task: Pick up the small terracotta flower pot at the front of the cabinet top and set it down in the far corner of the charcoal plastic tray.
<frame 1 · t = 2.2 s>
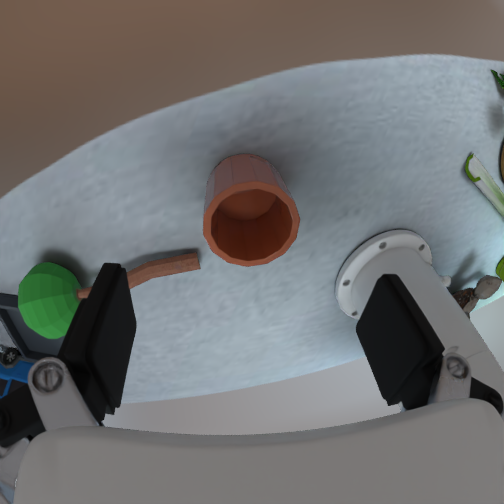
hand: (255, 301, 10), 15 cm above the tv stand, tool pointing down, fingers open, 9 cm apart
toy 2: (491, 79, 17), point 2 cm above the tv stand, touching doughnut
tree: (108, 269, 28), on the tv stand
tray: (55, 331, 32), on the tv stand
toy car: (47, 368, 37), on the tv stand
toy: (440, 372, 33), point 8 cm above the tv stand
microphone: (502, 264, 34), on the tv stand
terracotta pot: (244, 189, 24), on the tv stand
leek: (473, 164, 23), point 2 cm above the tv stand
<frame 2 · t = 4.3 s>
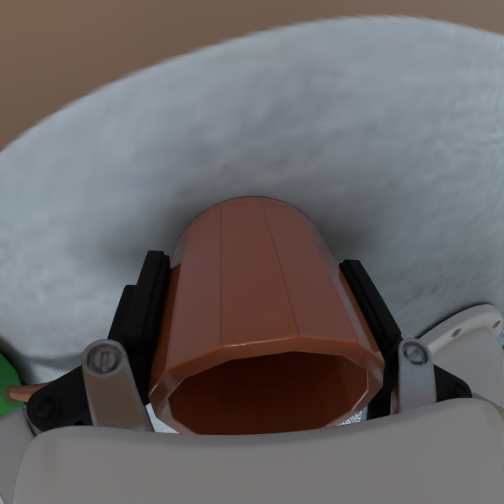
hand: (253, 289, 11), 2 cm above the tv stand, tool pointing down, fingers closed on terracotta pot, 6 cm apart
tree: (46, 358, 16), on the tv stand
terracotta pot: (250, 265, 12), on the tv stand, touching gripper
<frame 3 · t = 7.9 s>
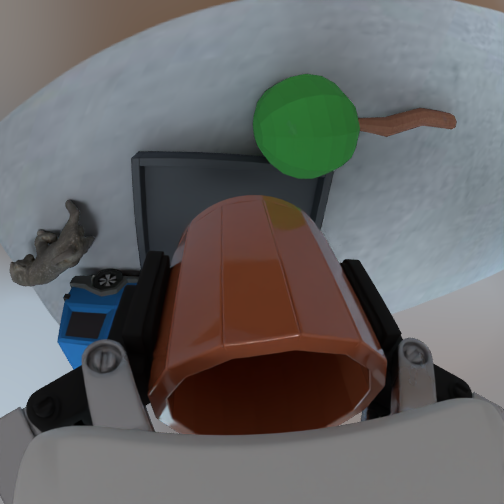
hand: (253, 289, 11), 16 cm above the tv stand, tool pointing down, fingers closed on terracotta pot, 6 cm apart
tree: (362, 115, 22), on the tv stand
tray: (228, 217, 27), on the tv stand
toy car: (164, 300, 32), on the tv stand
terracotta pot: (251, 264, 12), point 14 cm above the tv stand, touching gripper
dog figurine: (61, 236, 27), on the tv stand
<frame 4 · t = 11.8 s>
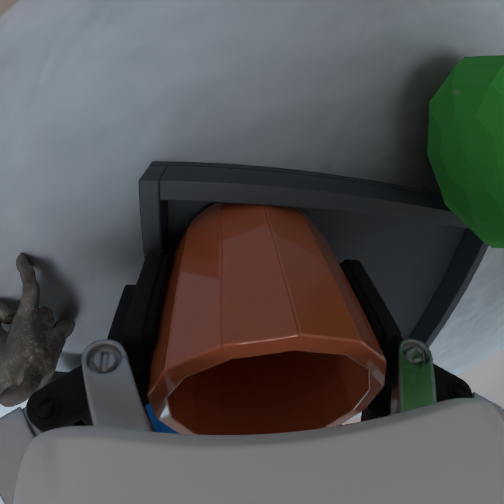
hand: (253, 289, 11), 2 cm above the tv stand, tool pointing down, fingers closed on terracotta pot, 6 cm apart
tray: (324, 290, 15), on the tv stand
toy car: (196, 395, 20), on the tv stand
terracotta pot: (250, 264, 12), point 1 cm above the tv stand, touching gripper
dog figurine: (22, 308, 14), on the tv stand
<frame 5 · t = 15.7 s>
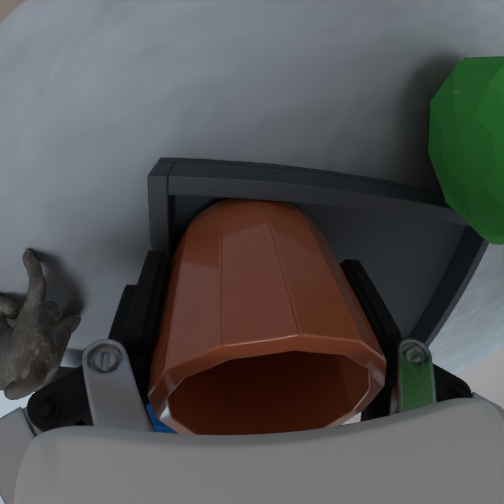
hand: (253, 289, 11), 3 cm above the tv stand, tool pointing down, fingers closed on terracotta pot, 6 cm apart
tray: (327, 285, 15), on the tv stand
toy car: (199, 391, 20), on the tv stand
terracotta pot: (250, 264, 12), point 1 cm above the tv stand, touching gripper
dog figurine: (27, 304, 14), on the tv stand
when the fingers open (3 cm above the tv stand, at t = 19.6 s): terracotta pot drops 1 cm, resting on tray.
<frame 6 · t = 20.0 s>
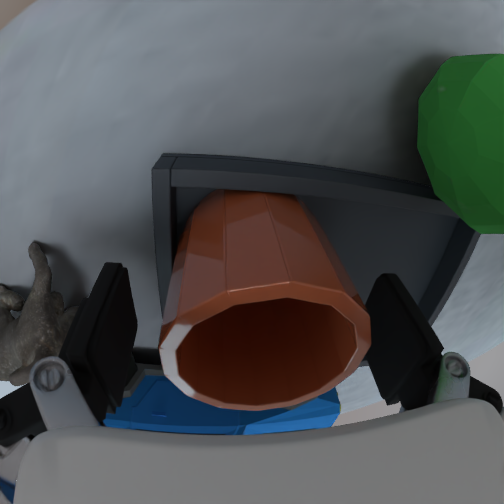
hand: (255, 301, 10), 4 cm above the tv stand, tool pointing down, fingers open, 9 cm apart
tray: (322, 276, 16), on the tv stand
toy car: (199, 383, 21), on the tv stand
terracotta pot: (250, 244, 13), point 1 cm above the tv stand, touching tray
dog figurine: (31, 296, 15), on the tv stand
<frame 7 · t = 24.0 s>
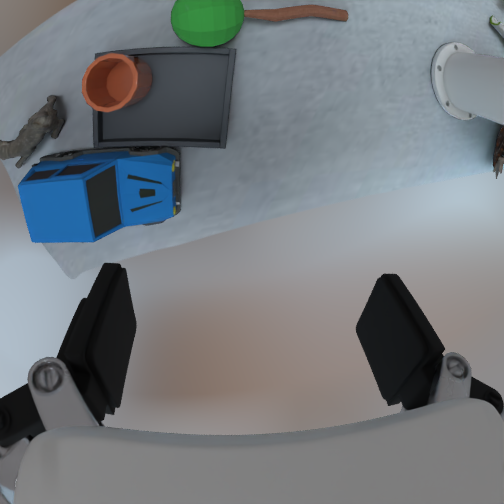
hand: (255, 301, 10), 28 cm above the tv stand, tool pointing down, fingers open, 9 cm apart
tree: (262, 16, 26), on the tv stand
tray: (161, 95, 30), on the tv stand
toy car: (112, 179, 35), on the tv stand
terracotta pot: (128, 80, 28), resting on tray
leek: (494, 18, 21), point 2 cm above the tv stand
dog figurine: (40, 128, 29), on the tv stand
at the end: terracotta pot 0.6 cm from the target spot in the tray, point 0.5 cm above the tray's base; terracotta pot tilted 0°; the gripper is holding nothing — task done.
